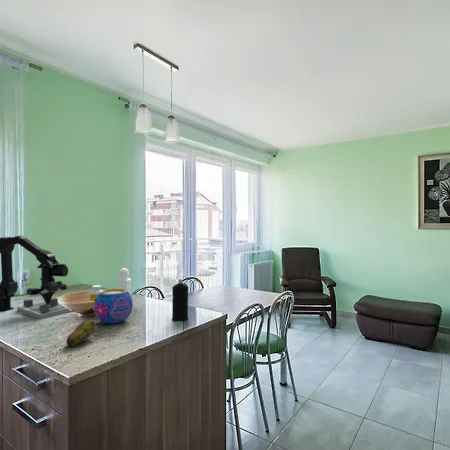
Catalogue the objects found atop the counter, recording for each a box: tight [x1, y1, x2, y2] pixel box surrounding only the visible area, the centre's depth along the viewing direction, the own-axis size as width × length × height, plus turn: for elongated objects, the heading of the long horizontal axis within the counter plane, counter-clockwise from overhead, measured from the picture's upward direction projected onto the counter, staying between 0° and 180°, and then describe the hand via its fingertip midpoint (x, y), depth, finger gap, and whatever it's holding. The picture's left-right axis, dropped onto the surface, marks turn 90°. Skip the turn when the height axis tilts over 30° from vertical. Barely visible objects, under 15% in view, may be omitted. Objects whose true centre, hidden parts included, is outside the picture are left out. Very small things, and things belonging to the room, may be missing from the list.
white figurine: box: [115, 267, 132, 296], centre depth 178 cm, size 6×6×22 cm
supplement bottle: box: [89, 284, 103, 302], centre depth 173 cm, size 7×7×13 cm
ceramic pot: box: [94, 288, 134, 325], centre depth 151 cm, size 18×18×15 cm
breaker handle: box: [49, 297, 59, 306], centre depth 172 cm, size 4×3×3 cm
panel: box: [16, 298, 71, 320], centre depth 169 cm, size 25×18×6 cm
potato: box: [66, 319, 97, 348], centre depth 125 cm, size 8×13×8 cm, turn 142°
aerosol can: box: [171, 278, 190, 322], centre depth 155 cm, size 8×8×20 cm
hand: (47, 304), depth 170 cm, fingers closed
